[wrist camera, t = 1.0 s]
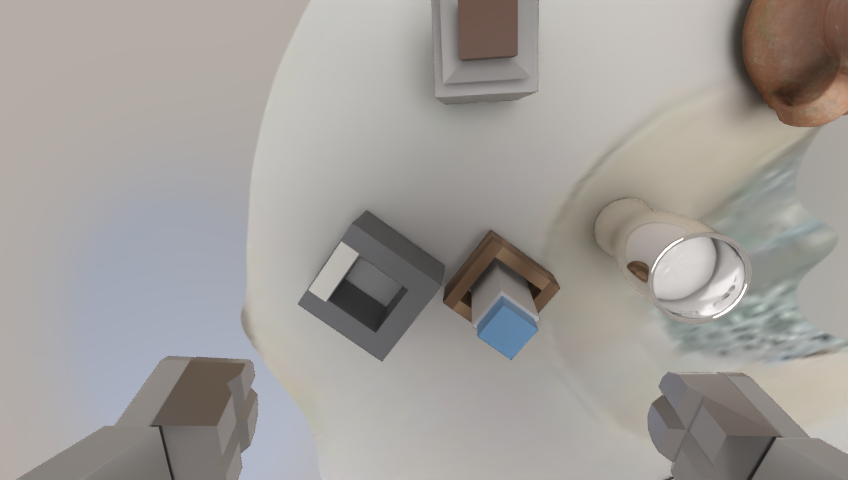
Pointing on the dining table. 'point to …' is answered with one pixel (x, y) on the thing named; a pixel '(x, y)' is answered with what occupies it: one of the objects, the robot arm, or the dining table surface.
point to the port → (354, 307)
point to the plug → (503, 309)
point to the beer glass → (674, 260)
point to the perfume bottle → (485, 49)
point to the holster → (498, 247)
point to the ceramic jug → (799, 58)
